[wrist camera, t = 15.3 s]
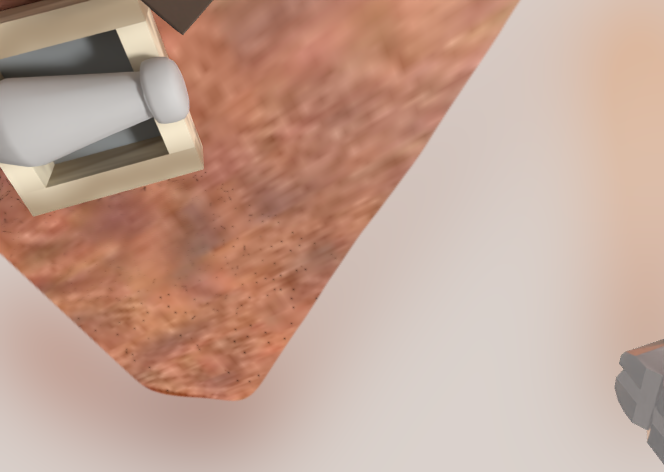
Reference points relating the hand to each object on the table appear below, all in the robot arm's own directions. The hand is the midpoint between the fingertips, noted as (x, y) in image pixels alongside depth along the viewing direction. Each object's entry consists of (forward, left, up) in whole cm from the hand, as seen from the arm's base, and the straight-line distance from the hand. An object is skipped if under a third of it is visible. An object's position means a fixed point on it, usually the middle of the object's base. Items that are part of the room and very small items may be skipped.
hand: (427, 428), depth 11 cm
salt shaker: (+3, -19, -31) cm, 37 cm away
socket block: (+4, -14, -37) cm, 40 cm away
